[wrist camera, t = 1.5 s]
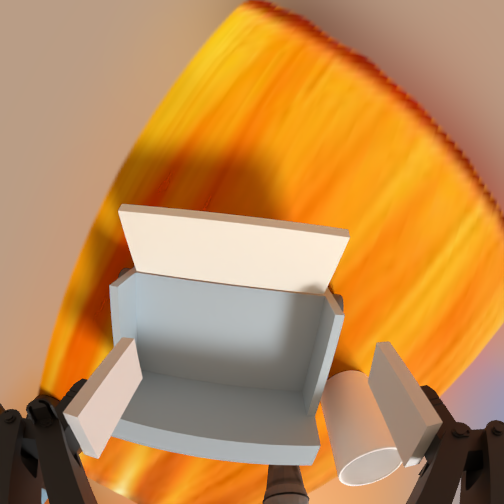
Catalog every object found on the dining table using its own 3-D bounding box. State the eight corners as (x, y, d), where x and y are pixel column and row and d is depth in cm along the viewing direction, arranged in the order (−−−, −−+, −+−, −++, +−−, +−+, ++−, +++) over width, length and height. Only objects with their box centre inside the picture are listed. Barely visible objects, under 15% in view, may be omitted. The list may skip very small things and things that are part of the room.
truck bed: (134, 371, 41) (99, 431, 28) (129, 260, 37) (71, 300, 23) (310, 395, 41) (324, 464, 28) (338, 286, 37) (375, 340, 23)
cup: (314, 409, 42) (330, 488, 27) (326, 369, 40) (351, 451, 25) (361, 408, 42) (388, 481, 26) (376, 369, 40) (415, 443, 25)
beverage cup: (267, 438, 44) (269, 536, 24) (308, 442, 44) (321, 535, 25) (258, 460, 46) (257, 549, 26) (296, 463, 46) (304, 549, 26)
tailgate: (136, 271, 32) (117, 210, 25) (139, 263, 33) (122, 202, 26) (323, 294, 32) (349, 237, 25) (323, 285, 33) (347, 228, 26)
